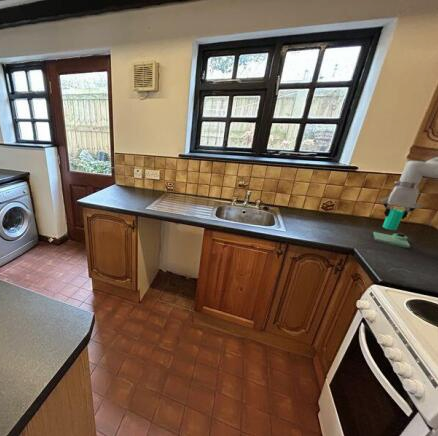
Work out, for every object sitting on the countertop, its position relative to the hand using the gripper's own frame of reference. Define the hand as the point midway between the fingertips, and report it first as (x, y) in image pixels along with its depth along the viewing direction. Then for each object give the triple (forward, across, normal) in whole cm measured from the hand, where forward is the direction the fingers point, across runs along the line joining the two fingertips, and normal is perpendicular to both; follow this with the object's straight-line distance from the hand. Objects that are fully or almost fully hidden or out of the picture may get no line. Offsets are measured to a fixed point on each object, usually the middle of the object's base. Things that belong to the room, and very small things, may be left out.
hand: (394, 216), depth 134 cm
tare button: (+12, +6, +4) cm, 14 cm away
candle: (+7, 0, 0) cm, 7 cm away
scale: (+14, +2, +1) cm, 15 cm away
